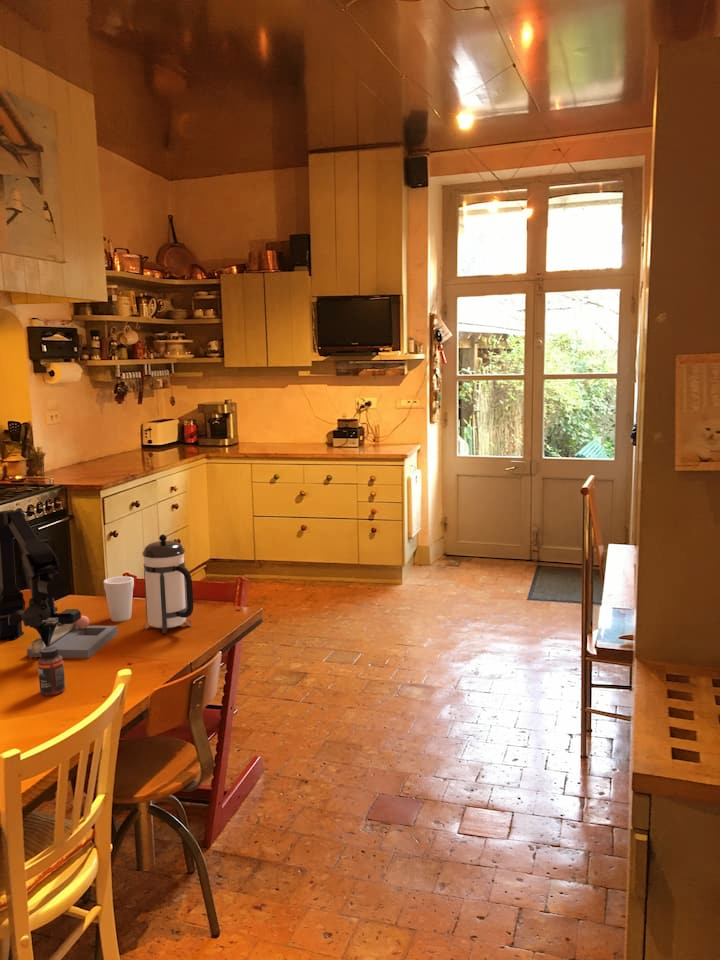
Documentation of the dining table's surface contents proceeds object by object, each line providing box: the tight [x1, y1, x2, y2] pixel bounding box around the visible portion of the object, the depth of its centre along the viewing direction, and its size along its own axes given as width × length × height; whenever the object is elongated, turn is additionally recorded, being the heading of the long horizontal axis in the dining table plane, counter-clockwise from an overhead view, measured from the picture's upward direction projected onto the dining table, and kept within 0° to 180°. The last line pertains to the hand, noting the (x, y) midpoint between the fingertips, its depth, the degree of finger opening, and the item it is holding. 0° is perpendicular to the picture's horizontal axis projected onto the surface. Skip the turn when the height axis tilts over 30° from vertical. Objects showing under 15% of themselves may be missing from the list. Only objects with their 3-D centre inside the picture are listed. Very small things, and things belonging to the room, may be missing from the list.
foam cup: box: [103, 575, 135, 622], centre depth 252 cm, size 10×9×13 cm
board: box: [26, 625, 119, 659], centre depth 228 cm, size 18×21×2 cm
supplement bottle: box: [37, 647, 66, 697], centre depth 193 cm, size 6×6×11 cm
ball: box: [76, 615, 90, 629], centre depth 235 cm, size 4×4×4 cm
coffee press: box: [141, 534, 194, 636], centre depth 240 cm, size 17×16×30 cm
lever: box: [31, 622, 76, 653], centre depth 225 cm, size 2×24×4 cm, turn 173°
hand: (47, 646), depth 217 cm, fingers closed
